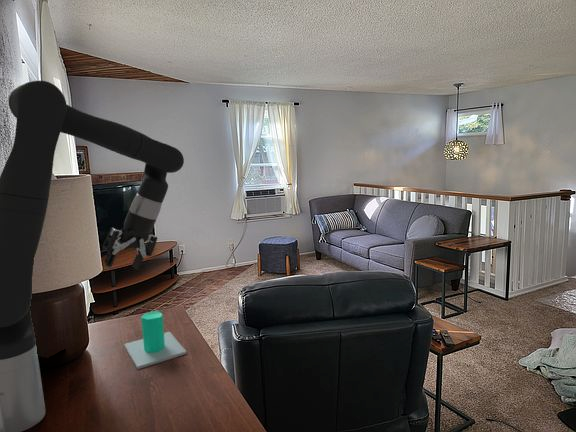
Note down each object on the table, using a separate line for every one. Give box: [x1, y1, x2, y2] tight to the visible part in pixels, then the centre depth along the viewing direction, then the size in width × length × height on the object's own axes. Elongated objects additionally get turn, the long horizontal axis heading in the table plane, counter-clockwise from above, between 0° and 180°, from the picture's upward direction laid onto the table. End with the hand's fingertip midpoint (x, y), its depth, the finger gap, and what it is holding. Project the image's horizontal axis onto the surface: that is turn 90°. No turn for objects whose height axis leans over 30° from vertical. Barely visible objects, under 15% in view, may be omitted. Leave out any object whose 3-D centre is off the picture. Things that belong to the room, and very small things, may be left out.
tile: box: [124, 331, 188, 370], centre depth 116 cm, size 16×14×1 cm
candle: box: [141, 309, 165, 353], centre depth 115 cm, size 6×6×12 cm
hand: (121, 266), depth 106 cm, fingers open, 8 cm apart
